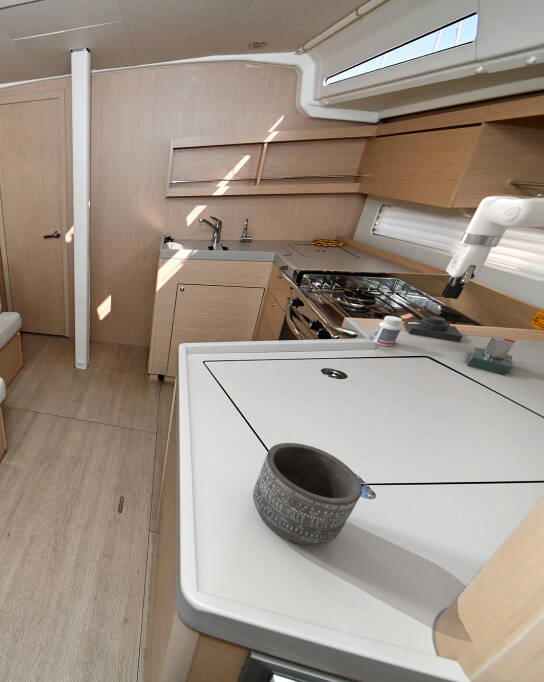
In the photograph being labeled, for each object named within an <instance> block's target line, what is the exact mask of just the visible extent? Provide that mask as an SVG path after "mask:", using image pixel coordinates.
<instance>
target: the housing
mask: <svg viewBox="0 0 544 682" xmlns="http://www.w3.org/2000/svg"><path fill="white" fill-rule="evenodd" d="M429 318H430V317H423V318H422V319H415V318H409V317H407V318H405V320H404V322H403V325H404V327H405V329H406V331H407V333H408V334H409V335H415V336H420V337H427V338H430V339H431V338H432V339H438V340H445V341H450V342H455V343H460V342H461V340H462V338H463V337H464V336H463V335H462V333H461V332H460V331H459V330H458V328H457V327H456V325H454V327H453V326H450V325H451V324H450V323H449V322H448V321H446V320H445V321H444V323H443V325H440V324H434V323H430V322H428V320H429ZM408 322H417V323H420V324H408Z"/></svg>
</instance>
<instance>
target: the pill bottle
mask: <svg viewBox="0 0 544 682" xmlns="http://www.w3.org/2000/svg"><path fill="white" fill-rule="evenodd" d="M402 321H403V318H400V317H398V316H394V315H385V316H384V318H383V321H381V322H380V323H379V324H378V326H377V328H376V330H375V332H374V335H373V337H372V339H371V341H372V342H373V343H374V344H376V345H379V346H384V347H392V346H394V344H395V342H396V341H397V338H398V336H399V334H400V333H401V330H402V326H401V324H402Z"/></svg>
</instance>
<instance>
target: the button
mask: <svg viewBox="0 0 544 682" xmlns="http://www.w3.org/2000/svg"><path fill="white" fill-rule="evenodd" d="M428 318H429V320H428V322H430V323H434V324H440V325H443V323H444V321H445V322H446V319H445V318H444V317H441V316H435V315H431V316H429V317H428Z"/></svg>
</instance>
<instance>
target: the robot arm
mask: <svg viewBox="0 0 544 682" xmlns="http://www.w3.org/2000/svg"><path fill="white" fill-rule="evenodd" d="M532 227H533V228H538V227H539V228H540V227H541V228H542V227H544V197H533V198H531V197H530V198H520V197H518V196H509V195H493V196H492V195H491V196H487V197H484V198H483V199H482V200H481V201H480V203H479V205H478V206H477V209H476V211H475V212H474V214H473V216H472V218H471V220H470V222H469V224H468V226H467V228H466V230H465V232H464V233H463V236H462V238H461V239H460V241H459V244H460V245H459V246H458V248H457V249H456V252H455V253H454V255H453V257H452V258H451V259H450V261H449V263H448V265H447V267H446V269H445V271H446V273H448V275H449V276H450V277H449V279H448V281H447V283H446V285H445V287H444V289H443V291H442V293H441V295H442V297H443V298H444V299H453V300H458V299H459V297H460V296H461V294H462V292H463V290H464V288H465V287H466V285H467V284H469V282H470V280H474V279H476V278H477V277H478V276H479V274H480V273H481V270H482V268H483V267H484V265H485V263H486V261H487V259H488V257H489V255H490V252H491V250H492V248H497V246H498V245H499V244H500V242H501V240H502V238H503V236H504V234H505V233H506V230H507V229H508V228H512V229H513V228H515V229H516V228H517V229H518V228H519V229H520V228H532Z"/></svg>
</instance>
